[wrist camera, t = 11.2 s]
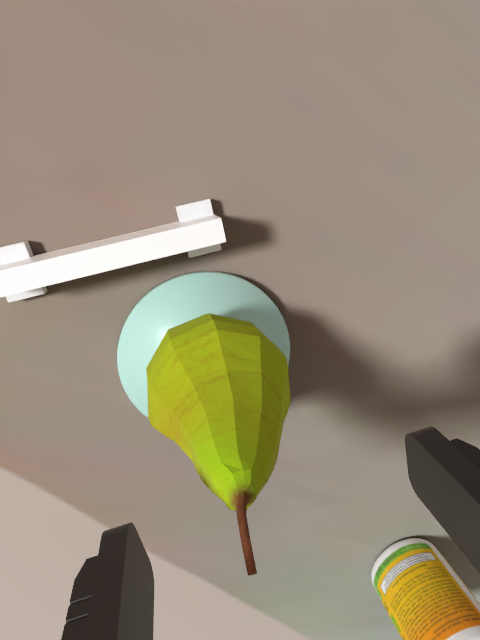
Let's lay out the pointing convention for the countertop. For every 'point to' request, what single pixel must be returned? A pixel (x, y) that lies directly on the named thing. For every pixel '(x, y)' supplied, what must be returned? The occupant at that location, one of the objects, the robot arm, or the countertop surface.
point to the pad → (182, 306)
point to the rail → (109, 252)
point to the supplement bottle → (424, 593)
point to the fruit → (222, 406)
